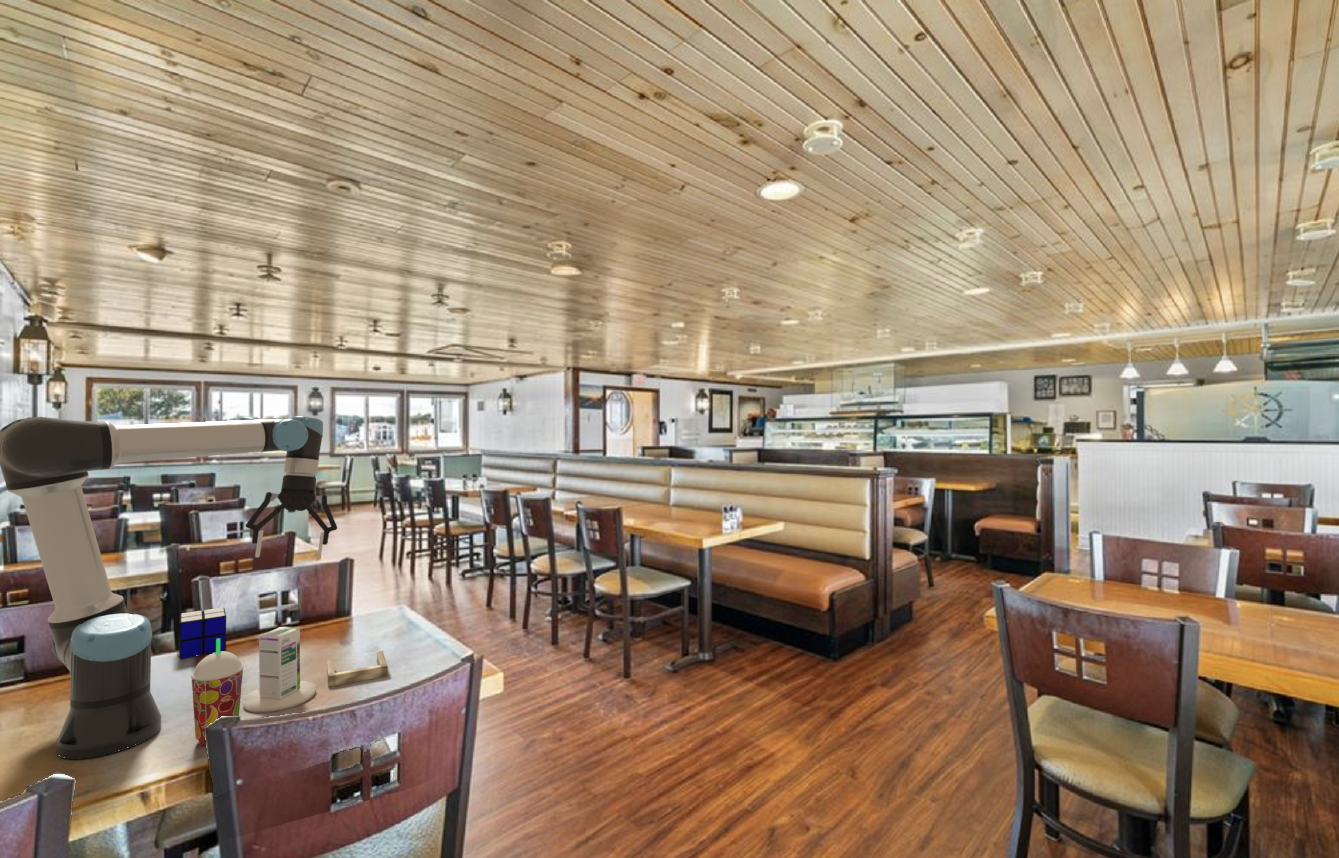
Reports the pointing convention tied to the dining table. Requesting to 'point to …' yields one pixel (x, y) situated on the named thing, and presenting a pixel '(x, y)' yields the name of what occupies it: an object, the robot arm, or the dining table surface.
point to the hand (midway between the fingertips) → (288, 557)
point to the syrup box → (279, 662)
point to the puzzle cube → (202, 632)
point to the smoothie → (216, 689)
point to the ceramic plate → (269, 705)
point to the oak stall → (357, 672)
